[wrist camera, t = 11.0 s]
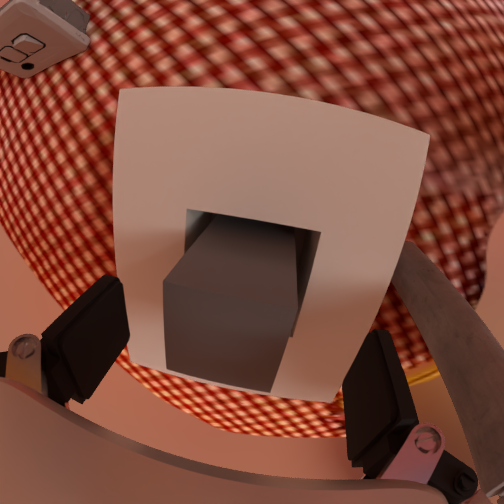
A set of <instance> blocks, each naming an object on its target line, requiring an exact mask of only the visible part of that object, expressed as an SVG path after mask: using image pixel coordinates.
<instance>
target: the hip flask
mask: <svg viewBox="0 0 504 504" xmlns="http://www.w3.org/2000/svg"><path fill="white" fill-rule="evenodd" d="M391 282H392V283H393V285H394V287H395V289H396V290H397V292H398V294H399V295H400V297H401V299H402V300H403V302H404V304H405V306H406V308H407V309H408V311H409V313H410V315H411V316H412V318H413V320H414V322H415V324H416V326H417V328H418V329H419V331H420V333H421V335H422V337H423V339H424V341H425V343H426V345H427V347H428V349H429V351H430V353H431V355H432V357H433V359H434V361H435V363H436V366H437V368H438V370H439V372H440V374H441V376H442V378H443V381H444V383H445V385H446V388H447V390H448V392H449V395H450V397H451V399H452V402H453V404H454V407H455V409H456V412H457V414H458V417H459V419H460V422H461V425H462V428H463V431H464V433H465V436H466V439H467V442H468V445H469V448H470V452H471V455H472V458H473V461H474V465H475V468H476V472H477V476H478V480H479V484H480V488H481V490H482V491H483V492H484V493H485V495H486V496H487V497H492V496H495V495H497V494H498V496H499V497H501V496H502V497H501V498H499V499H498V500H497V503H498V504H504V350H503V349H502V347H501V345H500V344H499V343H498V341H497V340H496V338H495V337H494V336H493V334H492V333H491V332H490V330H489V329H488V327H487V326H486V325H485V323H484V322H483V321H482V320H481V318H480V317H479V316H478V314H477V313H476V312H475V311H474V309H473V308H472V307H471V306H470V304H469V303H468V302H467V301H466V300H465V298H464V297H463V296H462V295H461V294H460V292H459V291H458V290H457V289H456V288H455V287H454V286H453V284H452V283H451V282H450V281H449V280H448V279H447V278H446V276H445V275H444V274H443V273H442V272H441V271H440V270H439V269H438V268H437V267H436V266H435V265H434V263H433V262H432V261H431V260H430V259H429V258H428V257H427V256H426V255H425V254H424V253H423V252H422V251H421V250H420V249H419V248H418V247H417V246H416V245H415V244H414V243H412V242H410V241H404V244H403V247H402V250H401V253H400V256H399V259H398V262H397V265H396V268H395V270H394V273H393V276H392V278H391Z"/></svg>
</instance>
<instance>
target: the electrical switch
mask: <svg viewBox="0 0 504 504" xmlns="http://www.w3.org/2000/svg"><path fill="white" fill-rule="evenodd" d="M48 6H49V7H48ZM66 13H67V14H66ZM89 19H90V16H89V15H88V14H87V13H86V12H85V11H84V10H82V9H81V8H80V7H79V6H78V5H76V4H75V3H74V2H73V1H72V0H9V1H8V2H7V3H6V4H5V5H3V6H2V7H1V8H0V69H1V70H3V71H6V72H8V73H11V74H13V75H16V76H18V77H20V78H29V77H31V76H33V75H35V74H37V73H38V72H40V71H42V70H44V69H46V68H48V67H50V66H52V65H54V64H56V63H58V62H60V61H62V60H64V59H66V58H69V57H71V56H73V55H75V54H78V53H80V52H82V51H85V50H86V49H87V47H88V45H89V43H90V39H89V37H88V36H87V35H86V34H85V32H86V26H87V24H88V21H89Z"/></svg>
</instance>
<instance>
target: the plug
mask: <svg viewBox="0 0 504 504" xmlns="http://www.w3.org/2000/svg"><path fill="white" fill-rule="evenodd" d="M297 310H298V300H297V272H296V250H295V231H294V227H293V226H288V225H282V224H277V223H271V222H265V221H260V220H254V219H248V218H242V217H236V216H230V215H224V214H218V215H217V216H216V217H215V218H214V220H213V221H212V222H211V223H210V224H209V225H208V227H207V228H206V229H205V230H204V231H203V232H202V234H201V235H200V236H199V237H198V238H197V240H196V241H195V242H194V243H193V244H192V246H191V247H190V248H189V249H188V250H187V252H186V253H185V254H184V255H183V256H182V258H181V259H180V260H179V261H178V263H177V264H176V265H175V266H174V268H173V269H172V270H171V271H170V272H169V274H168V275H167V276H166V277H165V279H164V280H163V319H164V341H165V357H166V369H168V370H171V371H174V372H178V373H182V374H185V375H189V376H193V377H196V378H200V379H204V380H208V381H213V382H217V383H221V384H226V385H231V386H235V387H240V388H245V389H251V390H256V391H262V392H268V393H270V392H271V389H272V386H273V384H274V381H275V378H276V375H277V372H278V369H279V366H280V363H281V360H282V357H283V354H284V351H285V348H286V345H287V342H288V339H289V336H290V333H291V330H292V326H293V323H294V320H295V317H296V313H297Z"/></svg>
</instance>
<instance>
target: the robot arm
mask: <svg viewBox="0 0 504 504" xmlns="http://www.w3.org/2000/svg"><path fill="white" fill-rule="evenodd" d="M41 335H42V337H43V338H42V339H41V340H39V339H38V338H37V337H36V336H35V335H32V334H23V335H20V336H18V337H16V338H15V339H14V340H13V341H12V342H11V343H10V345H9V348H8V351H6V352H0V504H492V503H491V502H490V500H489V499H488V497H487V496H486V495H485V493H484V492H483V491H482V490H481V489H479V490H477V486H478V478H477V475H476V473H475V472H474V470H472V469H471V468H470V467H468V466H467V465H466V464H464V463H463V462H461V461H459V460H458V459H457V458H455V457H454V456H452V455H451V454H450V453H448V452H447V451H445V450H444V446H445V438H444V435H443V433H442V432H441V430H440V429H439V428H438V427H436V426H435V425H433V424H431V423H420V424H419V421H418V417H417V413H416V410H415V406H414V403H413V399H412V396H411V393H410V389H409V386H408V383H407V380H406V376H405V373H404V370H403V368H402V366H401V363H400V360H399V357H398V354H397V351H396V349H395V346H394V343H393V340H392V338H391V335H390V333H389V331H386V330H378V329H374V330H373V331H372V332H369V333H367V335H366V337H365V339H364V341H363V343H362V345H361V347H360V349H359V351H358V353H357V355H356V357H355V359H354V361H353V363H352V365H351V367H350V368H349V370H348V372H347V374H346V376H345V378H344V380H343V383H342V392H343V402H344V413H345V425H346V439H347V455H348V460H352V467H363V472H364V474H363V476H362V477H361V478H360V479H359V480H321V479H301V478H288V477H277V476H269V475H262V474H255V473H248V472H242V471H237V470H232V469H227V468H222V467H217V466H213V465H209V464H205V463H201V462H197V461H193V460H190V459H186V458H183V457H179V456H176V455H173V454H170V453H166V452H163V451H161V450H158V449H155V448H152V447H149V446H147V445H144V444H141V443H139V442H136V441H133V440H131V439H129V438H126V437H124V436H121V435H119V434H116V433H114V432H112V431H110V430H108V429H105V428H104V427H101V426H99V425H97V424H95V423H93V422H91V421H89V420H87V419H85V418H84V417H82V416H80V415H78V414H76V413H74V412H72V411H70V410H69V403H68V401H69V400H70V398H72V399H73V400H75V401H77V402H79V403H81V404H83V402H84V401H85V399H89V398H90V397H91V396H92V394H93V393H94V391H95V390H96V388H97V387H98V385H99V384H100V382H101V381H102V379H103V378H104V376H105V375H106V373H107V372H108V370H109V369H110V367H111V366H112V365H113V363H114V362H115V360H116V359H117V357H118V356H119V354H120V353H121V352H122V350H123V349H124V347H125V346H126V344H127V343H128V341H129V339H130V330H129V324H128V317H127V311H126V304H125V296H124V288H123V284H122V283H121V282H120V279H119V278H118V277H114V276H111V275H107V274H106V275H104V276H102V277H101V278H100V279H99V280H98V281H97V282H96V283H94V284H93V285H92V286H91V287H90V288H89V289H88V290H87V291H86V292H84V293H83V294H82V295H81V296H80V297H79V298H78V299H77V300H76V301H75V302H74V303H73V304H71V305H70V306H69V307H68V308H67V309H66V310H65V311H64V312H63V313H62V314H61V315H60V316H59V317H58V318H57V319H56V320H55V321H54V322H53V323H52V324H51V325H50V326H49V327H48V328H47V329H46V330H45V331H44V332H43V333H42V334H41Z"/></svg>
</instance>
